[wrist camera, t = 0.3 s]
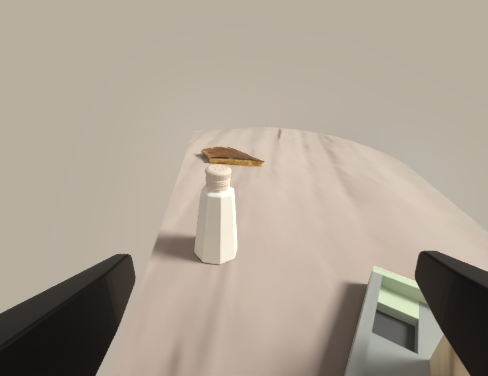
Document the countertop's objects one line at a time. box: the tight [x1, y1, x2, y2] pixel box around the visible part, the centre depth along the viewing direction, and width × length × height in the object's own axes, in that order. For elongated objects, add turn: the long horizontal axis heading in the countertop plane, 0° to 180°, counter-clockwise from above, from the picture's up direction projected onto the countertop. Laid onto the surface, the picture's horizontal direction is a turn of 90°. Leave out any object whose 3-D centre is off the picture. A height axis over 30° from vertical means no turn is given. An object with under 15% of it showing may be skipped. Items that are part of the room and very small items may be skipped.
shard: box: [201, 147, 264, 166], centre depth 63 cm, size 13×9×2 cm
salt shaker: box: [194, 165, 237, 265], centre depth 32 cm, size 5×5×11 cm
